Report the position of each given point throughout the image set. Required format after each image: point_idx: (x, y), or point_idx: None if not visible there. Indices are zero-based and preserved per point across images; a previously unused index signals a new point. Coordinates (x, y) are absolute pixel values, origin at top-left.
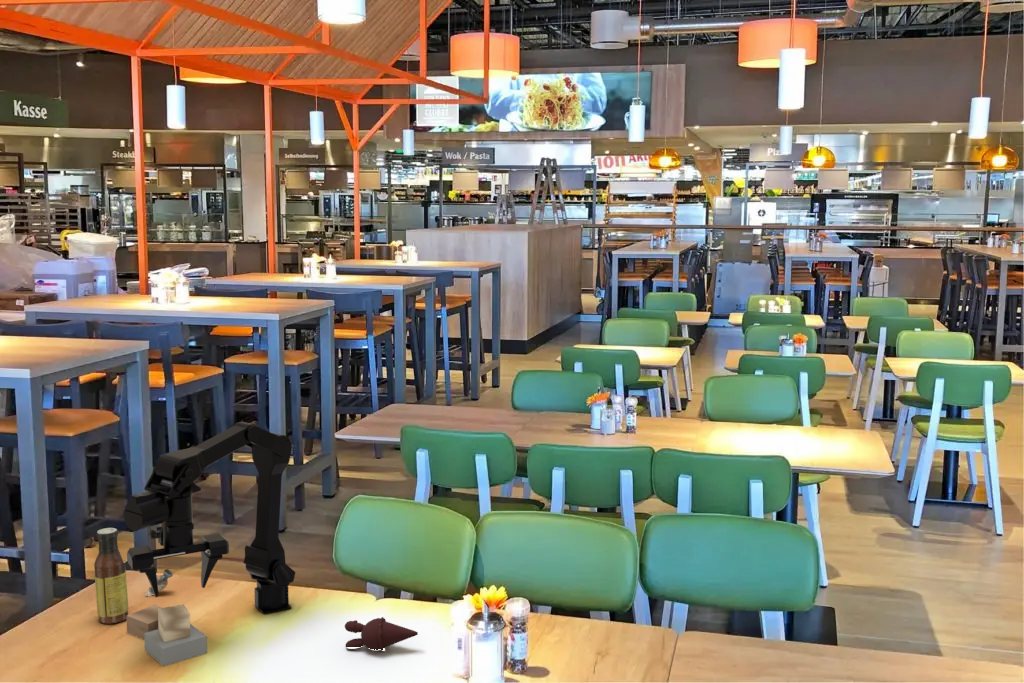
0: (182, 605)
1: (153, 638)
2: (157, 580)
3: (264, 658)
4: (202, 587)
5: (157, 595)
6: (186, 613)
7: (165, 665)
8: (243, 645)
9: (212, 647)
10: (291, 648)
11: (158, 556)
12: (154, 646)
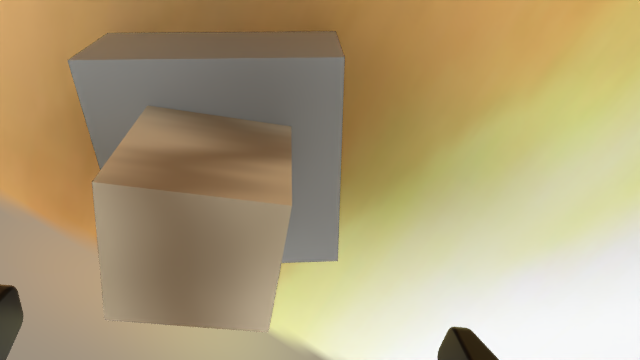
0: (276, 220)
1: (107, 154)
2: None
3: None
4: (439, 352)
5: (10, 339)
6: (249, 328)
7: None
8: (466, 229)
9: (372, 183)
10: (553, 318)
11: None
12: None
